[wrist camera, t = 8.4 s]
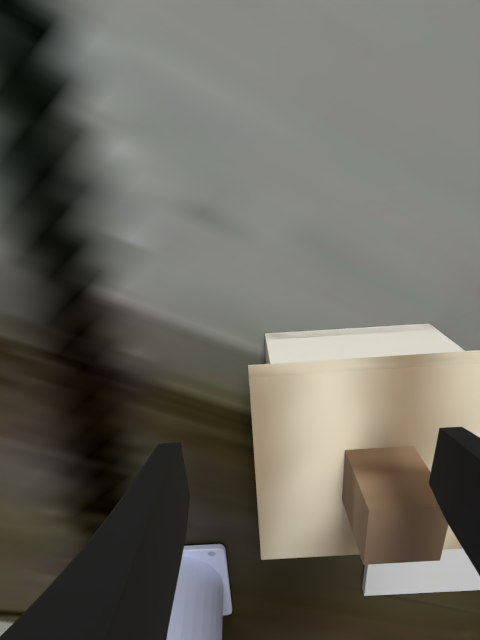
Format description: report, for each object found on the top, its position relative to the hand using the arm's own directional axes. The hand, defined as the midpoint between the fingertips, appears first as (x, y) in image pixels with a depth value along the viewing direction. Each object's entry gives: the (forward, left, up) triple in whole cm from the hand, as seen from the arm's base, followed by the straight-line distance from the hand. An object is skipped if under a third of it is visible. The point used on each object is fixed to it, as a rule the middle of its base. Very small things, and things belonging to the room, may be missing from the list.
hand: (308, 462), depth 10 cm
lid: (+4, -5, -5) cm, 9 cm away
